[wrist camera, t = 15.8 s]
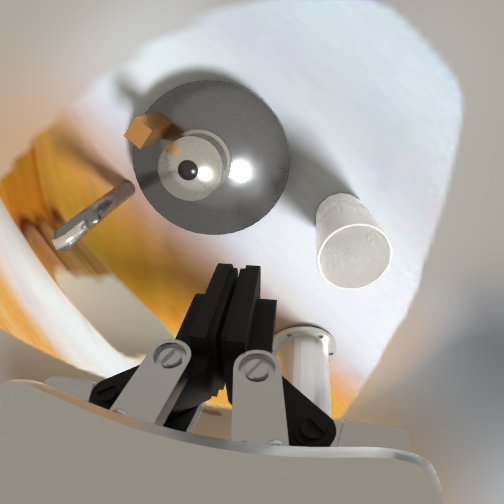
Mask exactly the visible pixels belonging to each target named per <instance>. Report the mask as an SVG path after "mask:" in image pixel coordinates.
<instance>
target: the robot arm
mask: <svg viewBox="0 0 504 504" xmlns="http://www.w3.org/2000/svg"><path fill="white" fill-rule="evenodd" d="M260 276H261V268H260V266H251V265H246V268H245V269H242V268H241V270H240V273H239V276H238V270H237V268H233V265H232V264H221V263H219V264H218V265H217V267H216V269H215V272H214V274H213V277H212V279H211V281H210V284H209V286H208V288H207V291H206V293H205V294H199V293H197V294H196V295H195V296H194V299H193V301H192V303H191V305H190V307H189V310H188V312H187V314H186V316H185V318H184V321H183V323H182V325H181V327H180V330H179V332H178V334H177V336H176V339H168V340H164V341H161V342H159V343H158V344H156V345H155V346H154V347H153V348H152V349H151V350H150V352H149V353H148V354H147V356H146V357H145V359H144V360H143V362H142V363H141V364H140V365H138V366H136V367H133V368H131V369H129V370H126V371H124V372H122V373H119V374H117V375H115V376H112V377H110V378H107V379H105V380H103V381H101V382H99V383H98V384H96V383H95V382H94V381H91V380H82V379H74V378H67V377H60V376H52V377H50V378H48V379H47V380H46V381H45V382H44V383H40V382H37V381H32V380H24V379H14V380H9V381H6V382H3V383H2V384H1V385H0V504H444V503H443V496H442V490H441V485H440V482H439V478H438V475H437V473H436V471H435V469H434V467H433V466H432V465H431V463H430V462H429V461H427V460H426V459H424V458H422V457H420V456H418V455H415V454H412V453H410V438H409V436H408V435H407V433H406V432H405V431H403V430H402V429H399V428H396V427H387V426H379V425H371V424H365V423H358V422H352V421H347V420H344V422H339V421H334V420H332V419H331V398H330V378H329V362H330V361H331V360H332V359H333V357H334V356H335V353H336V343H335V340H334V339H333V337H332V336H331V335H330V334H329V333H328V332H326V331H324V330H322V329H319V328H315V327H310V326H298V327H292V328H288V329H285V330H282V331H280V332H278V333H277V334H276V335H274V332H275V320H276V305H277V300H268V299H260ZM225 382H226V389H227V396H228V401H229V402H230V404H231V405H232V440H225V439H219V438H213V437H207V436H202V435H197V434H192V433H191V432H192V430H193V428H194V426H195V424H196V422H197V420H198V418H199V415H200V413H201V411H202V409H203V407H204V402H205V401H207V400H209V399H211V396H216V397H217V394H218V391H219V389H220V390H223V389H224V386H225Z"/></svg>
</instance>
